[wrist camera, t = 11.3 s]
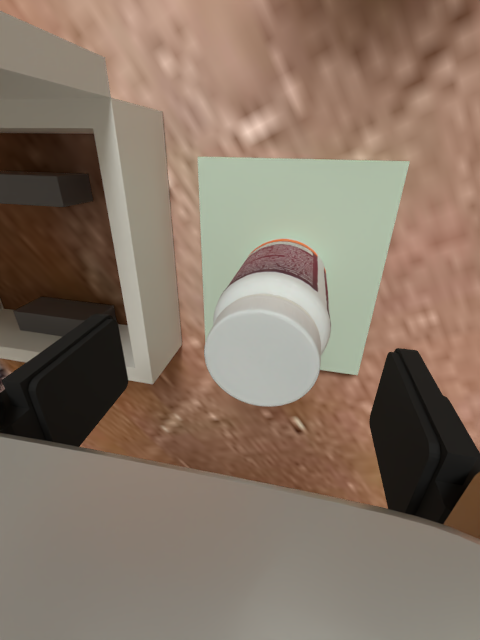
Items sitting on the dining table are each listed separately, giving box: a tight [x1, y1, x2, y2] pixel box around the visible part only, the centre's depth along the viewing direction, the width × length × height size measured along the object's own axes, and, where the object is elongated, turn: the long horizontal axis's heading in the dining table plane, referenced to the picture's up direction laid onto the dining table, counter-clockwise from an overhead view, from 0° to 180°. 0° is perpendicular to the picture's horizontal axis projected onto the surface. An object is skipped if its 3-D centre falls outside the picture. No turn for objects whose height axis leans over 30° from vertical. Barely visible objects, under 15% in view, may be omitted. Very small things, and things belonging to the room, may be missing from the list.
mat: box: [198, 157, 410, 375], centre depth 18 cm, size 12×10×1 cm
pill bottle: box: [204, 238, 331, 406], centre depth 14 cm, size 5×5×8 cm
